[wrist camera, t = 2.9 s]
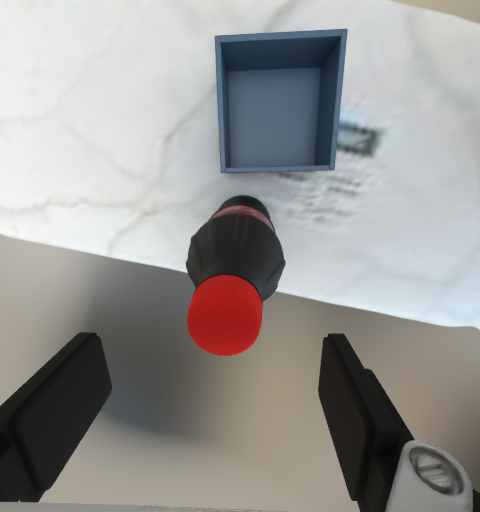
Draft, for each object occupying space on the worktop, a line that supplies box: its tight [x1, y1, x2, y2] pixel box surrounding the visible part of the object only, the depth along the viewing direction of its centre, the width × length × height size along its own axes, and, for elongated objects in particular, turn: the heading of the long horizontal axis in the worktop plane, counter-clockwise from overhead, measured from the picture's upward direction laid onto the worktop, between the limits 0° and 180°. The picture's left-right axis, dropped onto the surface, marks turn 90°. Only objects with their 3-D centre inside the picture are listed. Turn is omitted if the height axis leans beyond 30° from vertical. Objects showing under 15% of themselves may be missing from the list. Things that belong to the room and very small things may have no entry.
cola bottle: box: [186, 196, 286, 356], centre depth 26 cm, size 8×8×30 cm
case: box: [215, 29, 347, 173], centre depth 32 cm, size 14×14×9 cm
